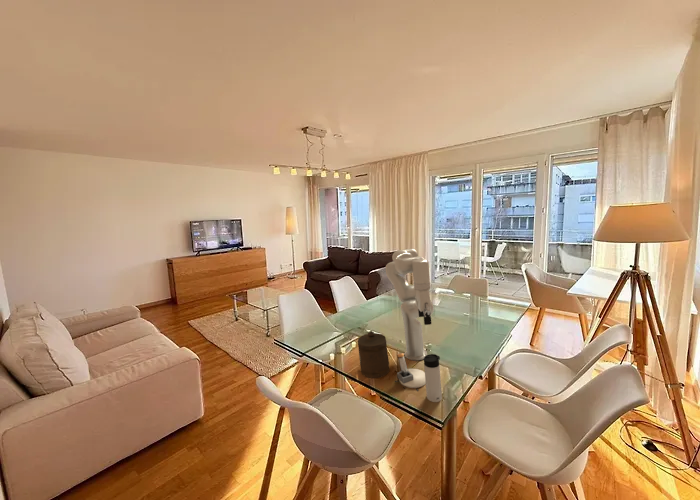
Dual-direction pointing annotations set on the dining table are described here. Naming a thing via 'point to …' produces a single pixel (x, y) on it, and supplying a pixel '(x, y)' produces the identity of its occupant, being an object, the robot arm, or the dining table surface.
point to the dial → (412, 378)
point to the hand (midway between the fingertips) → (424, 320)
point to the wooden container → (373, 355)
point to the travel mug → (433, 377)
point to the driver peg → (402, 364)
